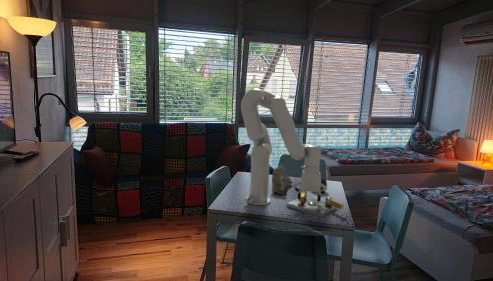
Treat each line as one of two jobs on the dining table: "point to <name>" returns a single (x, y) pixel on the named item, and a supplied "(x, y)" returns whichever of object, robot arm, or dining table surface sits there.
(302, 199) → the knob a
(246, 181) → the dining table surface
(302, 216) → the dining table surface
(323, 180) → the mineral specimen
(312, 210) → the levelling base
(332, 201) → the knob
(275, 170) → the rock
